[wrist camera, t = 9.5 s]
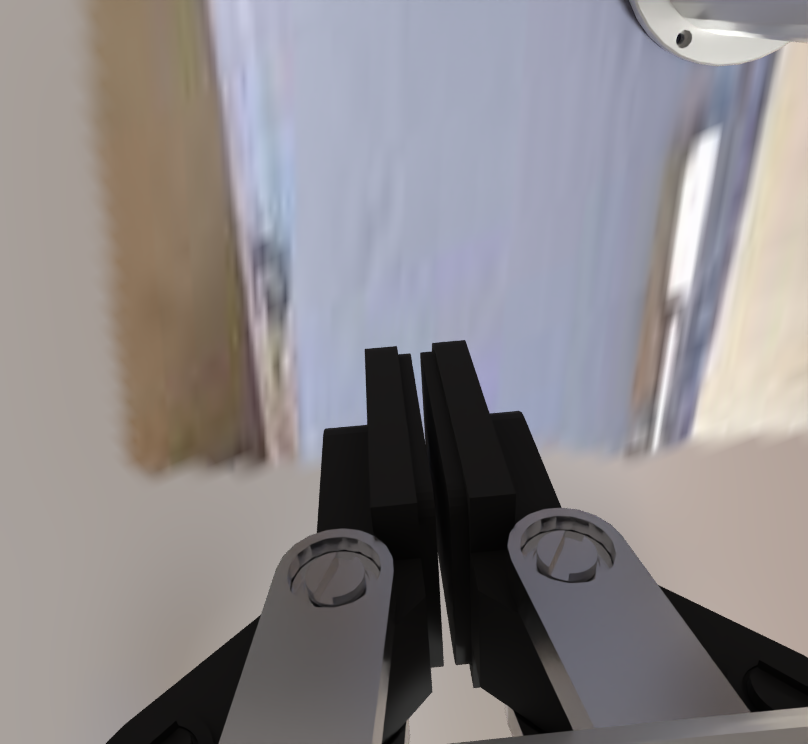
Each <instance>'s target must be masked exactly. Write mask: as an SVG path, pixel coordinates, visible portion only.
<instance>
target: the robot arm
mask: <svg viewBox="0 0 808 744" xmlns="http://www.w3.org/2000/svg"><path fill="white" fill-rule="evenodd" d="M629 2H630V4H631V6H632V9H633V11H634V13H635V16H636V18H637V20H638V21H639V23H640V24H641V26H642V27H643V28H644V30H645V31H646V33H647V34H648V36H649V37H650V38H651V39H653V40H654V41H655V42H656V43H657V44H658V45H659V46H660V47H662V48H663V49H664V50H665V51H667V52H669V53H671V54H673V55H675V56H677V57H678V58H680V59H683V60H687V61H690V62H694V63H698V64H704V65H712V66H727V65H739V64H742V63H746V62H749V61H753V60H756V59H760V58H762V57H764V56H766V55H768V54H770V53H772V52H774V51H776V50H778V49H780V48H782V47H784V46H785V45H786V44H788V43H789V42H800V43H808V0H629ZM679 33H680V35H681V40H680V41H679V42H678V43H676V38H677V35H678V34H679ZM420 359H421V376H422V393H423V410H424V426H425V439H424V433H423V427H422V421H421V414H420V408H419V402H418V396H417V390H416V384H415V378H414V372H413V366H412V360H411V354H399V355H398V350H397V346H394V347H383V348H371V349H365V370H366V398H367V425H361V426H350V427H339V428H328V429H325V430H324V434H323V448H322V463H321V478H320V493H319V509H318V524H317V533H316V534H313V535H311V536H308V537H307V538H305V539H303V540H301V541H300V542H298V543H296V544H295V545H294V546H293V547H292V548H291V549H290V550H289V551H288V552H287V553H286V554H285V555H284V556H283V557H282V559H281V561H280V563H279V565H278V567H277V568H276V571H275V574H274V577H273V580H272V583H271V586H270V589H269V592H268V595H267V598H266V601H265V604H264V608H263V611H262V614H261V615H260V616H259V617H258V618H256V619H255V620H254V621H253V622H251V623H250V624H249V625H248V626H246V627H245V628H244V629H243V630H241V631H240V632H239V633H238V634H237V635H235V636H234V637H233V638H231V639H230V640H229V641H228V642H227V643H225V644H224V645H223V646H222V647H220V648H219V649H218V650H217V651H215V652H214V653H213V654H212V655H210V656H209V657H208V658H207V659H206V660H204V661H203V662H202V663H200V664H199V665H198V666H197V667H196V668H194V669H193V670H192V671H191V672H189V673H188V674H187V675H186V676H184V677H183V678H182V679H181V680H180V681H178V682H177V683H176V684H175V685H174V686H172V687H171V688H170V689H168V690H167V691H166V692H165V693H163V694H162V695H161V696H160V697H159V698H157V699H156V700H155V701H153V702H152V703H151V704H150V705H148V706H147V707H146V708H145V709H143V710H142V711H141V712H140V713H139V714H137V715H136V716H135V717H134V718H132V719H131V720H130V721H129V722H127V723H126V724H125V725H124V726H123V727H122V728H121V729H120V730H119V731H118V732H117V733H116V734H115V735H114V736H113V737H112V738H111V739H110V740H109V741H108V742H107V743H106V744H409V740H410V730H409V718H410V716H411V715H412V714H413V713H414V712H415V711H416V710H417V708H418V707H419V706H420V705H421V704H422V703H423V702H424V701H425V699H426V698H427V697H428V696H429V695H430V694H431V693H432V680H431V668H432V667H441V666H444V662H443V642H442V623H441V605H440V587H439V569H438V556H439V563H440V570H441V576H442V583H443V589H444V596H445V602H446V608H447V615H448V621H449V628H450V634H451V641H452V647H453V654H454V659H455V664H456V665H462V664H470V671H471V676H472V682H473V687H474V688H479V687H481V688H482V689H484V690H485V691H487V692H488V693H490V694H491V695H493V696H494V697H496V698H497V699H498V700H500V701H501V702H503V703H504V704H505V713H506V718H507V722H508V726H509V728H510V731H511V734H512V736H513V737H508V738H499V739H489V740H480V741H470V742H461V743H452V744H808V658H807V657H806V656H804V655H802V654H800V653H798V652H796V651H794V650H792V649H790V648H788V647H786V646H783V645H781V644H779V643H777V642H775V641H773V640H771V639H769V638H767V637H765V636H763V635H761V634H759V633H756V632H754V631H752V630H750V629H748V628H746V627H744V626H742V625H740V624H738V623H736V622H733V621H732V620H730V619H727V618H725V617H723V616H721V615H719V614H717V613H715V612H713V611H711V610H709V609H707V608H704V607H703V606H701V605H698V604H696V603H694V602H692V601H690V600H688V599H686V598H684V597H682V596H680V595H678V594H676V593H674V592H671V591H669V590H667V589H665V588H663V587H661V586H659V585H658V584H657V583H656V582H655V580H654V579H653V578H652V576H651V575H650V573H649V572H648V571H647V569H646V568H645V567H644V565H643V564H642V562H641V561H640V560H639V558H638V557H637V556H636V554H635V553H634V551H633V550H632V549H631V547H630V546H629V545H628V543H627V542H626V540H625V539H624V538H623V536H622V535H621V534H620V533H619V532H618V531H617V530H616V529H615V528H614V527H613V526H612V525H611V524H609V523H607V522H606V521H604V520H602V519H601V518H599V517H597V516H596V515H593V514H590V513H587V512H584V511H581V510H577V509H567V508H561V505H560V503H559V501H558V498H557V496H556V493H555V491H554V489H553V486H552V484H551V481H550V479H549V476H548V474H547V471H546V469H545V466H544V464H543V462H542V459H541V457H540V454H539V452H538V449H537V447H536V445H535V442H534V440H533V437H532V435H531V432H530V430H529V428H528V425H527V423H526V420H525V418H524V416H523V414H522V412H520V411H513V412H502V413H491V414H489V411H488V408H487V405H486V402H485V399H484V396H483V393H482V390H481V387H480V383H479V380H478V377H477V374H476V371H475V368H474V365H473V362H472V359H471V356H470V353H469V350H468V347H467V344H466V342H465V340H461V341H450V342H439V343H432V352H422V353H420ZM425 443H426V445H425Z"/></svg>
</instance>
